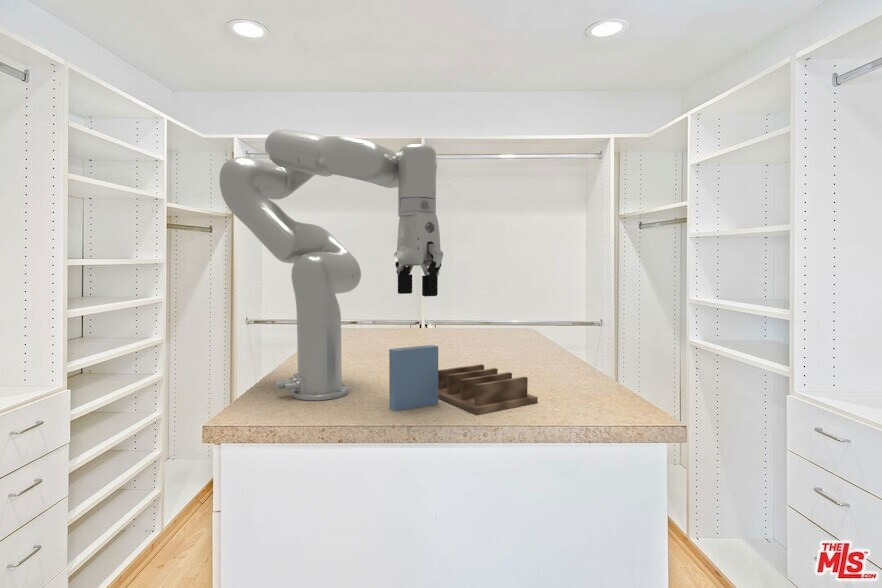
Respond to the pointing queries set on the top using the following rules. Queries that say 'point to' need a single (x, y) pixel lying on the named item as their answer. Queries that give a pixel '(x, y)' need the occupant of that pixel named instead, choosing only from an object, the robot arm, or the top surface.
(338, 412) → the top surface
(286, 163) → the robot arm
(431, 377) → the tile
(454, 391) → the rack
